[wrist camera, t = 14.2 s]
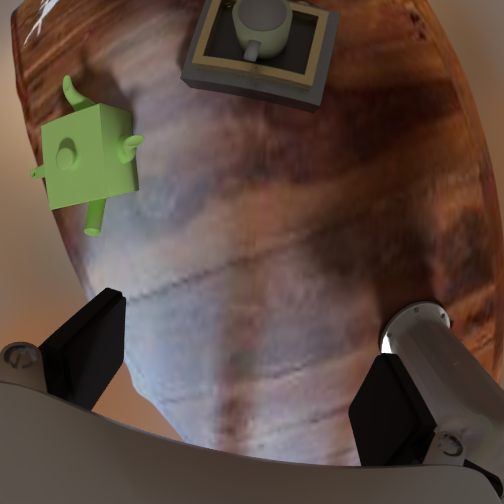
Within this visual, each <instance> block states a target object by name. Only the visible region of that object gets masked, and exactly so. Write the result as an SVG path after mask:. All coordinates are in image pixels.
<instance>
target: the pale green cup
mask: <svg viewBox="0 0 504 504" xmlns="http://www.w3.org/2000/svg"><path fill="white" fill-rule="evenodd" d="M292 14H293V13H292V8H291V6H290V4H289V3H288V2H287V0H238V1H237V2H236V3H235V5H234V7H233V11H232V16H233V21H234V25H235V29H236V34H237V38H238V42H239V46H240V48H241V49H242V50H243V52H244V53H245V54H244V57H243V58H244V59H245V60H247V61H252V62H255V61H256V59H270V58H273V57H276V56H277V55H279V54H280V53H281V52H283V50H284V49H285V47H286V45H287V41H288V36H289V31H290V26H291V21H292Z"/></svg>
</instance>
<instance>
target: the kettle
mask: <svg viewBox="0 0 504 504" xmlns="http://www.w3.org/2000/svg"><path fill="white" fill-rule="evenodd" d="M63 91H64V94H65V96H66V98H67V100H68V101H69V103H70V104H71V105H72V107H73V109H74V111H75V112H73V113H71V114H68V115H65V116H63V117H60V118H58V119H55V120H53V121H50V122H48V123H46V124H43V125H41V129H42V148H43V160H44V164H43V165H41V166H39V167H37V168H35V169H33V170H31V171H30V172H31V178H32V179H33V178H42V177H45V178H46V186H47V193H48V199H49V205H50V209H51V210H52V209H57V208H61V207H66V206H70V205H75V204H79V203H84V202H89V206H88V212H87V218H86V224H85V231H84V232H85V233H86V234H87V235H90V236H98V235H100V232H101V226H102V219H103V213H104V208H105V202H106V198H109V197H113V196H117V195H121V194H125V193H129V192H134V191H138V190H139V185H138V177H137V169H136V161H135V154H136V147H137V146H139V145H141V144H142V143H143V142H144V137H143V136H142V135H133V133H132V122H131V112H128V111H125V110H122V109H119V108H116V107H113V106H109V105H106V104H103V103H99V104H95V103H94V102H93V101H92V100H90V99H89V98H87V97H85V96H83V95H81V94H80V93H79V92H77V91H76V89H75V88H74V86H73V84H72V81H71V79H70V77H69V75H66V76H65V77H64V80H63Z"/></svg>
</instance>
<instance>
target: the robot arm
mask: <svg viewBox="0 0 504 504" xmlns="http://www.w3.org/2000/svg"><path fill="white" fill-rule="evenodd" d="M125 312H126V298H125V297H123V296H122V292H120V291H117V290H114V289H111V288H105V289H104V290H103V291H102V292H100V293H99V294H98V295H97V296H96V297H94V298H93V299H92V300H91V301H90V302H89V303H88V304H86V305H85V306H84V307H83V308H82V309H80V310H79V311H78V312H77V313H76V314H75V315H73V316H72V317H71V318H70V319H69V320H68V321H67V322H66V323H64V324H63V325H62V326H61V327H60V328H59V329H57V330H56V331H55V332H54V333H53V334H52V335H51V336H50V337H49V338H48V339H46V340H45V341H44V342H43V343H42V344H41V345H40V346H39V347H38V348H37V347H36V346H34V345H33V344H30V343H27V342H14V343H11V344H8V345H7V346H5V347H4V348H3V349H2V351H1V352H0V504H504V390H503V389H502V388H501V387H500V385H499V384H498V383H497V382H496V381H495V380H494V379H493V378H492V376H491V375H490V374H489V373H488V372H487V371H486V370H485V368H484V367H483V366H482V365H481V364H480V363H479V361H478V360H477V359H476V358H475V357H474V356H473V355H472V353H471V352H470V351H469V350H468V349H467V348H466V347H465V346H464V345H463V340H461V339H458V338H457V337H456V336H455V335H454V334H453V333H452V332H451V330H450V321H449V317H448V315H447V313H446V311H445V310H444V309H443V308H442V307H441V306H440V305H438V304H436V303H434V302H430V301H420V302H415V303H413V304H410V305H408V306H406V307H405V308H403V309H401V310H400V311H399V312H398V313H397V314H395V315H394V317H393V318H392V319H391V320H390V321H389V323H388V324H387V325H386V327H385V329H384V331H383V333H382V336H381V340H380V352H381V355H378V356H377V357H376V358H375V360H374V362H373V364H372V366H371V368H370V370H369V372H368V374H367V376H366V378H365V380H364V382H363V383H362V385H361V387H360V389H359V391H358V393H357V394H356V396H355V398H354V400H353V401H352V403H351V405H350V407H349V411H348V414H349V419H350V423H351V426H352V430H353V434H354V438H355V442H356V446H357V450H358V454H359V458H360V462H361V466H335V465H317V464H305V463H294V462H285V461H277V460H269V459H262V458H256V457H249V456H244V455H238V454H233V453H228V452H223V451H218V450H213V449H209V448H205V447H200V446H196V445H192V444H188V443H184V442H181V441H177V440H173V439H170V438H166V437H162V436H159V435H156V434H153V433H150V432H146V431H144V430H141V429H137V428H135V427H132V426H129V425H126V424H124V423H121V422H118V421H115V420H112V419H110V418H107V417H105V416H102V415H99V414H97V413H95V412H92V411H91V410H92V409H93V407H94V405H95V404H96V402H97V401H98V399H99V398H100V396H101V395H102V393H103V392H104V390H105V389H106V387H107V386H108V384H109V383H110V381H111V380H112V378H113V377H114V375H115V374H116V372H117V371H118V369H119V368H120V366H121V365H122V363H123V359H124V335H125ZM434 431H435V432H436V434H435V432H434Z"/></svg>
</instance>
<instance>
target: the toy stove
mask: <svg viewBox="0 0 504 504" xmlns="http://www.w3.org/2000/svg"><path fill="white" fill-rule="evenodd" d="M237 1H238V0H206V1H205V3H204V6H203V9H202V11H201V14H200V17H199V20H198V23H197V26H196V29H195V32H194V35H193V38H192V41H191V44H190V47H189V50H188V53H187V57H186V60H185V63H184V67H183V70H182V74H181V77H180V78H181V79H182V80H183V81H184V82H185V83H186V84H187V85H188V86H189V87H190V88H196V89H203V90H209V91H216V92H222V93H227V94H233V95H238V96H243V97H248V98H253V99H258V100H263V101H267V102H272V103H276V104H280V105H284V106H288V107H292V108H296V109H300V110H304V111H307V112H311V113H314V112H315V111H316V110H317V109H318V108H319V107H320V104H321V100H322V95H323V91H324V87H325V82H326V78H327V74H328V69H329V65H330V60H331V56H332V51H333V47H334V42H335V37H336V33H337V28H338V23H339V18H340V14H339V13H336V12H333V11H329V10H326V9H322V8H318V7H314V6H312V5H311V4H309V3H307V2H304V1H296V2H293V1H289V0H287V2H288V3H289V4H290V6H291V8H292V13H293V14H292V21H291V26H290V31H289V36H288V41H287V45H286V47H285V49H284V50H283V52H281V53H280V54H279V55H277V56H276V57H273V58H270V59H256V61H255V62H252V61H247V60H245V59H244V58H243V57H244V54H245V53H244V52H243V50H242V49H241V48H240V46H239V42H238V38H237V34H236V29H235V25H234V21H233V16H232V11H233V7H234V5H235V3H236V2H237Z"/></svg>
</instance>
